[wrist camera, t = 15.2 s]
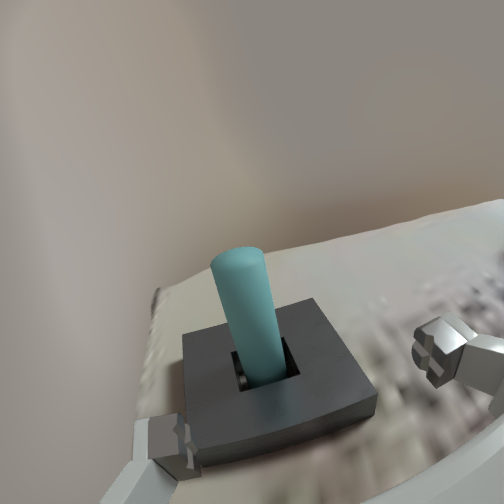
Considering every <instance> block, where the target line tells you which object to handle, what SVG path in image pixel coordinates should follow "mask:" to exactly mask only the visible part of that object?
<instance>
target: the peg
mask: <svg viewBox="0 0 504 504" xmlns="http://www.w3.org/2000/svg"><path fill="white" fill-rule="evenodd" d="M210 266H211V270H212V273H213V276H214V280H215V283H216V286H217V290H218V293H219V296H220V299H221V303H222V306H223V309H224V312H225V315H226V319H227V322H228V325H229V328H230V331H231V334H232V337H233V340H234V343H235V347H236V350H237V353H238V356H239V359H240V362H241V365H242V368H243V371H244V374H245V377H246V379H247V382H248V385H249V388H250V390H251V389H254V388H258V387H261V386H265V385H268V384H271V383H275V382H278V381H281V380H285V379H288V373H287V368H286V363H285V358H284V353H283V348H282V343H281V338H280V333H279V328H278V323H277V318H276V314H275V309H274V304H273V299H272V294H271V289H270V284H269V279H268V275H267V270H266V265H265V260H264V255H263V252H262V251H261V250H260V249H258V248H254V247H239V248H234V249H231V250H228V251H225V252H223V253H221V254H219V255H218V256H216V257H215V258H214V259H213V260H212V262H211V265H210Z"/></svg>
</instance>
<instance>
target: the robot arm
mask: <svg viewBox="0 0 504 504" xmlns="http://www.w3.org/2000/svg"><path fill="white" fill-rule="evenodd" d="M414 338H415V339H416V341H415V342H414V344H413V345H412V357H413V360H414V362H415V364H416V365H417V367H418V368H419V369H421V370H424V371H426V378H427V379H428V380H429V381H430V382H431V384H432V385H433V386H434V387H435V388H436V389H437V388H439V387H440V386H442V385H444V384H446V383H447V382H449V381H451V380H452V379H454V380H456V381H458V382H461V383H463V384H465V385H468V386H470V387H472V388H475V389H477V390H480V391H482V392H484V393H487V394H489V395H492V396H494V397H493V399H492V401H491V403H490V405H489V408H488V410H489V411H490V412H491V414H492V415H493V416H494V417H495V419H496V420H495V421H494V422H492V423H491V424H490V425H489V426H488V427H486V428H485V429H484V430H483V431H481V432H480V433H479V434H477V435H476V436H475V437H474V438H472V439H471V440H469V441H468V442H467V443H465V444H464V445H463V446H461V447H460V448H458V449H457V450H455V451H454V452H453V453H451V454H450V455H448V456H447V457H445V458H444V459H442V460H440V461H439V462H437V463H436V464H434V465H432V466H431V467H429V468H428V469H426V470H424V471H423V472H421V473H419V474H417V475H416V476H414V477H412V478H410V479H408V480H407V481H405V482H403V483H401V484H399V485H397V486H395V487H393V488H391V489H389V490H387V491H385V492H383V493H381V494H379V495H377V496H375V497H373V498H370V499H368V500H366V501H364V502H361V503H359V504H504V339H501V338H497V337H493V336H489V335H485V334H479V335H477V334H476V333H475V332H474V331H473V330H472V329H470V328H469V327H468V326H467V325H466V324H465V323H464V322H463V321H461V320H460V319H459V318H458V317H457V316H456V315H455V314H453V313H452V312H449V311H448V312H446V313H444V314H443V315H441V316H439V317H437V318H435V319H433V320H431V321H429V322H427V323H425V324H424V325H422V326H420V327H418V328H416V330H415V331H414ZM197 451H198V444H197V440H196V436H195V434H194V432H193V429H192V428H191V427H190V425H188V424H185V422H184V417H183V416H182V415H181V413H174V414H169V415H163V416H157V417H150V418H144V419H138V420H136V421H135V424H134V434H133V455H132V461H129V462H128V463H127V464H126V466H125V467H124V469H123V470H122V471H121V473H120V474H119V476H118V477H117V479H116V480H115V482H114V483H113V485H112V486H111V487H110V489H109V490H108V491H107V493H106V494H105V496H104V497H103V499H102V500H101V501H100V503H99V504H168V503H169V501H170V499H171V497H172V495H173V493H174V491H175V489H176V487H177V484H178V482H177V481H182V480H188V479H194V478H199V477H202V476H201V468H200V460H199V459H198V458H197V457H196V456H195V454H196V452H197Z"/></svg>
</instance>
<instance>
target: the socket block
mask: <svg viewBox="0 0 504 504" xmlns="http://www.w3.org/2000/svg"><path fill="white" fill-rule="evenodd" d="M275 314H276V318H277V323H278V328H279V333H280V338H281V343H282V348H283V353H284V358H285V360H287V359H288V360H289V363H290V365H291V367H292V369H293V372H294V374H295V376H294V377H291V378H288V379H285V380H281V381H278V382H275V383H271V384H268V385H265V386H261V387H258V388H254V389H251V390H247V391H242V387H241V383H240V379H239V375H238V374H239V373H242V372H244V371H243V368H242V365H241V362H240V359H239V356H238V353H237V350H236V347H235V343H234V340H233V337H232V334H231V331H230V328H229V325H228V323H225V324H221V325H217V326H214V327H210V328H206V329H202V330H198V331H194V332H190V333H186V334H182V342H183V370H184V389H185V406H186V420H187V424H188V425H190V427H191V428H192V429H193V432H194V434H195V436H196V440H197V444H198V451H197V452H196V454H195V456H196V457H197V458H198V459H199V460H200V465H201V466H202V467H208V466H213V465H218V464H223V463H228V462H233V461H237V460H242V459H246V458H250V457H254V456H258V455H262V454H266V453H269V452H273V451H276V450H280V449H283V448H287V447H290V446H293V445H296V444H299V443H302V442H306V441H308V440H311V439H314V438H317V437H320V436H323V435H326V434H328V433H331V432H334V431H336V430H339V429H341V428H344V427H346V426H349V425H351V424H354V423H356V422H358V421H361V420H363V419H365V418H368V417H370V416H372V415H374V414H375V408H376V402H377V395H378V393H377V391H376V390H375V388H374V387H373V385H372V384H371V382H370V381H369V379H368V378H367V376H366V375H365V373H364V372H363V370H362V369H361V367H360V366H359V364H358V363H357V361H356V360H355V359H354V357H353V356H352V354H351V353H350V351H349V350H348V348H347V347H346V345H345V344H344V342H343V341H342V340H341V338H340V337H339V335H338V334H337V332H336V331H335V329H334V328H333V326H332V325H331V324H330V322H329V321H328V319H327V318H326V316H325V315H324V314H323V312H322V311H321V309H320V308H319V306H318V305H317V303H316V302H315V301H314V299H313V298H310V299H307V300H303V301H300V302H297V303H294V304H291V305H287V306H284V307H281V308H277V309H275Z"/></svg>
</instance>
